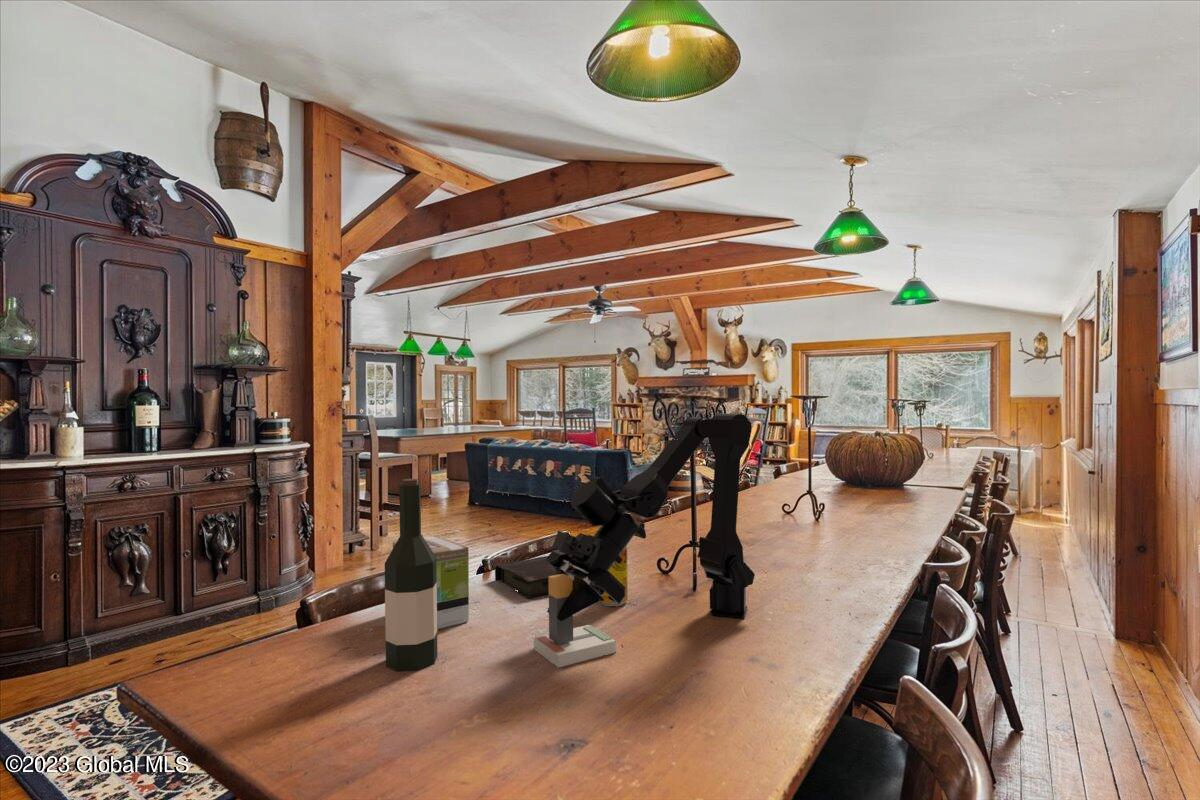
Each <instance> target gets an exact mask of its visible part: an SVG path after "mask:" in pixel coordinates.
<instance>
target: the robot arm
mask: <svg viewBox="0 0 1200 800" xmlns="http://www.w3.org/2000/svg"><path fill="white" fill-rule="evenodd" d="M751 435H752V422H751V421H750V420H749V418H748V417H747V416H746V415H745V414H743V413H720V412H719V413H716V414H714V415H713V416H712V417H711V418H705V417H692V416H691V417H687V418H686V419H685V420H684V421H683V422H682V424H681V427H680V428H679V429H678V431H676V433H675V434H674V436H673V437H672V438H671V440H670V441H669V442H668V443H667V445H665V447H664V448H663V450H662V451H661V452H660V453H659V455H658V456H657V457H656V458H655V460H654V461H653V462H652V464H651V465H649V467H648V468H647V469H645V470H644V471H642V472H640V473H638V474H637V475H635V476H634V477H632V478H631V479H630V480H629V481H628V482H627V483H626V484H625V485H624V486H622V487H621V488H620V489H619V490H616V491H612V490H611V488H609V487H608V486H607V483H606V482H605V481H604V480H603V479H602V478H601V477H600V476H599V477H598V476H593V477H592V479H591V480H590V481H586V482H585V483H583V484H581V485H580V486H579V487H577V488H576V489H575V490H574V492H573V493H572V494H571V497H570V501H569V503H570V505H571V506H572V507H573V508H574V509H575V510H576V511H577V512H578V513H579V514H580V515H581V516H582V518H583V519H585V520H586V521H587V522H588V523H589V524H590V525H591V526H592V527H598V526H600V527H598V529H596V532H595V533H594V534H593V535H591V534H585V533H582V532H581V533H580V532H579V533H578V534H577V535H576V536H573V535H571V534H569V533H566V532H563V531H560V530H557V532H556V535H555V538H554V540H553V543H552V546H551V549H553V550H552V551H550V553H549V554H548V555H547V556H548V557H547V558H546V560H547V561H548V562H549V563H550V564H551V565H552V566H553V567H554V568H555V571H556V572H557V575H560V574H566V575H568V576H570V577H572V578H573V590H572V592H571V593H570V595H569V597H568V598H567V600H566V601H565V603H564V605H563V606H562V608H561V609H560V611H559V613H558V615H557V619H558V620H559V621H563V620H565V619H567V618H568V617H570V616H572V615H573V616H574V615H576V614H578V613H579V612H581V611H582V610H585V609H586V608H589V607H591V606H593V605H595V604H597V603H599V602H603V601H604V599H603V598H602V596H603V594H604V593H605V592H606V593H607V594H608V595H609V600H610V601H612V602H614V603H616V604H618V605H620V603H621V602H622V600H623V599H624V598H625V596H626V588H625V587H624V586H623V585H622V584H621V583H620V582H619V581H618V580H617V579H616V578H615V577H614V576H613V575H612V574H611V573H610V572H609V569H610V568H611V567H612V565H613V564H614V562H615V563H617V564H620V563H621V561H622V559H621V557H620V554H621V553H622V551H623V550H624V549H625V547H626V546H627V547H628V545H629V543H630V542H631V540H632V539H633V538H634V537H637V538H640V539H642V540H643V539H646V538H647V533H646V532H647V531H646V529H645V525H646V524H645V523H644V522H641V521H637V520H636V519H635V518H633V516H632V515H634V516H637V517H641V518H644V519H645V518H646V519H650V518H654V517H655V516H657V515H658V514H659V512H661V511H660V510H661V509H662V508H663V505H664V503H666V500H667V498H668V494H669V487H670V485H671V483H672V481H673V480H674V479H675V478H676V476H677V475H678V474H679V472H680V471H681V470H682V469H683V467H684V466H685V464H686V463H687V462H688V460H689V459H690V458H691V457H692V455H693V454H694V453H695V451H696V450H697V449H698V448H699V447H700V445H701V444H702V443H703V441H704V440H705V439H708V444H709V446H710V449H711V450H712V453H713V456H714V468H713V469H714V471H713V486H712V487H713V488H712V500H711V501H712V503H711V505H712V506H711V519H710V521H711V522H710V528H709V531H708V533H707V534H706V535H705V537H703V536H700V537H699V540H698V553H697V556H696V557H697V558H699V564H700V566H701V568H702V569H703V570H704V574H705V577H706V578H707V579H710V580H712V585H711V586H710V588H709V610H711V612H710V615H711V616H717V617H728V618H738V619H745V618H746V614H747V610H748V606H747V588H748V587H749V586H750V585H753V583H754V579H755V572H754V571H753V570H752V569H751V568H750V567H749V565H747V563H746V562H745V561H744V548H743V545H742V543H741V540H740V538H739V535H738V533H737V522H738V521H737V518H738V506H739V504H738V503H739V486H740V470H741V458H742V457H743V456H744V454H745V452H746V451H747V450H748V448H749V446H750V441H751V440H750V439H751ZM673 438H676V439H678V440H674V439H673ZM620 509H622V510H623V511H624V512H622V510H620ZM546 612H547V613H548V614H549V607H548V608H547V611H546Z"/></svg>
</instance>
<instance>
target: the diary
mask: <svg viewBox="0 0 1200 800" xmlns="http://www.w3.org/2000/svg"><path fill="white" fill-rule="evenodd" d="M548 556H549V555H545V556H540V557H539V556H538V557H533V558H529V559H528V558H527V559H524V560H519V561H512V562H510V561H509V562H503V563H496V564H495V566H494V578H495V582H499V581H501V582H499V583H500V584H501V583H502V584H503V583H504V584H505V585H507V586H509V587H511V588H513V590H514V591H513V592H514V593H516V592H517V591H515V589H516V590H518V592H517V593H516V594H517V595H520V596H521V597H523V598H525V599H528V598H529V599H530V600H531V599H538V598H543V596H544V597H549V596H548V595H549V578H548V576H554V575H557V572H556V571H555V568H554V567H553V566H552V565H551V564H550V563H549V562H548V561H547V560H546V558H547V557H548Z"/></svg>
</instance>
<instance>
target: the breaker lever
mask: <svg viewBox="0 0 1200 800" xmlns="http://www.w3.org/2000/svg"><path fill="white" fill-rule="evenodd" d="M548 578H549V596H548V608H549V613H548V634H549V639H551V640H552V641H554V642H555V643H557V644H560V643H564V642H568V641H572V640H573V628H574V615H572V616H570V617H568V618H567V619H565V620H563V621H559V620H558V619H557V615H558V613H559V611H560V609H561V608H562V606H563V605H564V603H565V601H566V600H567V598H568V597H569V595H570V593H571V592H572V590H573V578H572V577H570V576H568V575H566V574H560V575H554V576H548Z"/></svg>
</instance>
